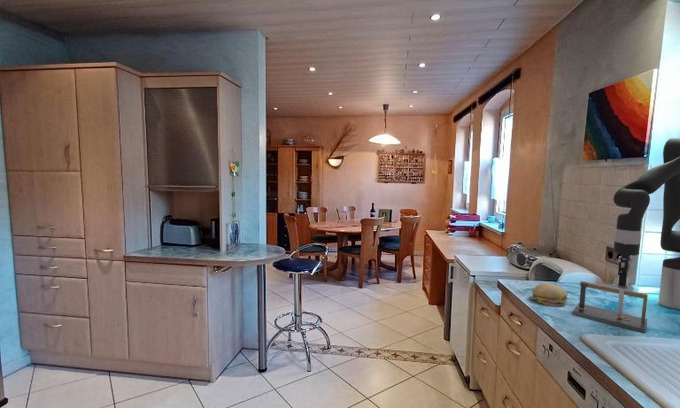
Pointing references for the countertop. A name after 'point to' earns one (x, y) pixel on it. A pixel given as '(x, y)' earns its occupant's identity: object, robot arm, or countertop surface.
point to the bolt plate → (608, 315)
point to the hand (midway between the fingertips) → (622, 284)
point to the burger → (549, 294)
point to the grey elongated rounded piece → (621, 296)
